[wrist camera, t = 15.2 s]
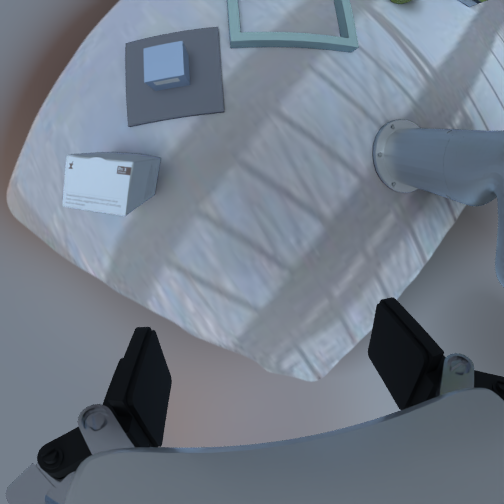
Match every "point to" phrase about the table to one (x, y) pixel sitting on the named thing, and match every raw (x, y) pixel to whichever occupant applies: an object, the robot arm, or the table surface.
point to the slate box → (166, 66)
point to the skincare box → (109, 181)
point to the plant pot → (400, 1)
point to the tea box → (471, 2)
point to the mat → (179, 98)
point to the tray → (300, 40)
